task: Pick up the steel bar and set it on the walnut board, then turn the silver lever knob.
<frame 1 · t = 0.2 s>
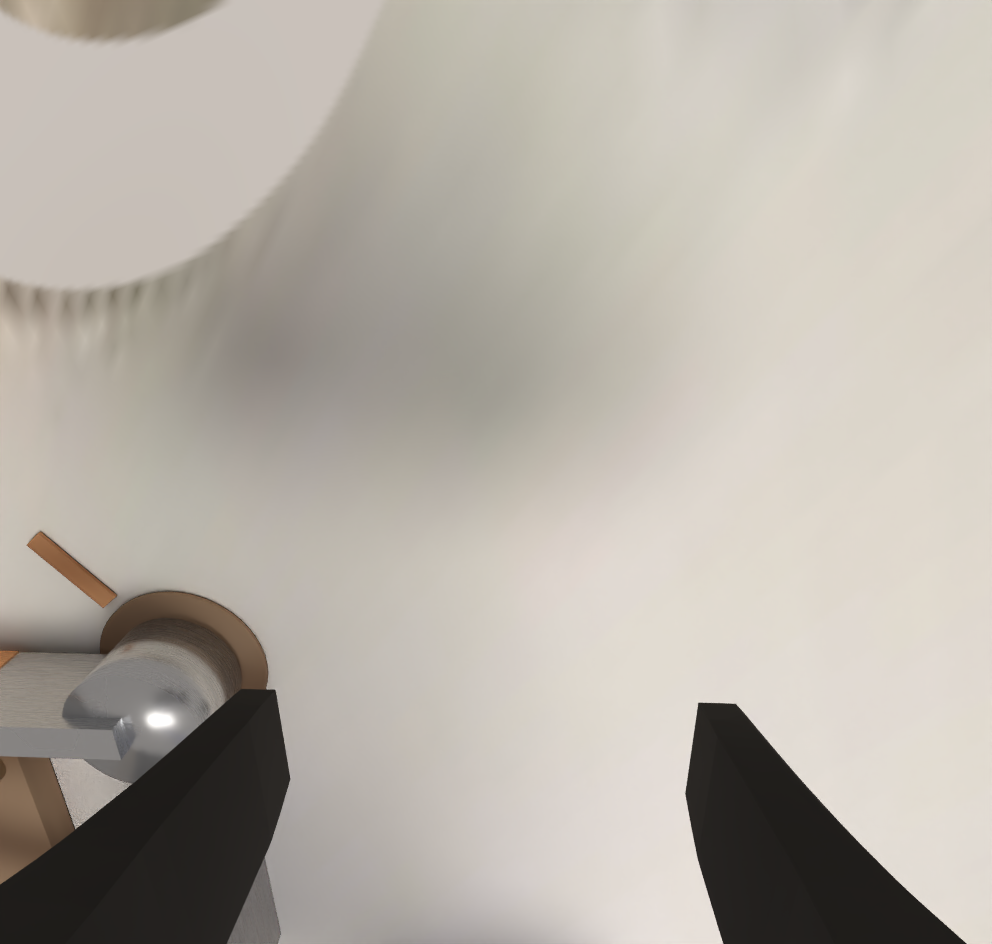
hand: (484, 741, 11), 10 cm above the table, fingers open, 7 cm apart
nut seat: (186, 662, 23), on the table
silver lever knob: (79, 703, 21), point 2 cm above the table, hinge at 0.0°
steel bar: (222, 850, 27), on the table
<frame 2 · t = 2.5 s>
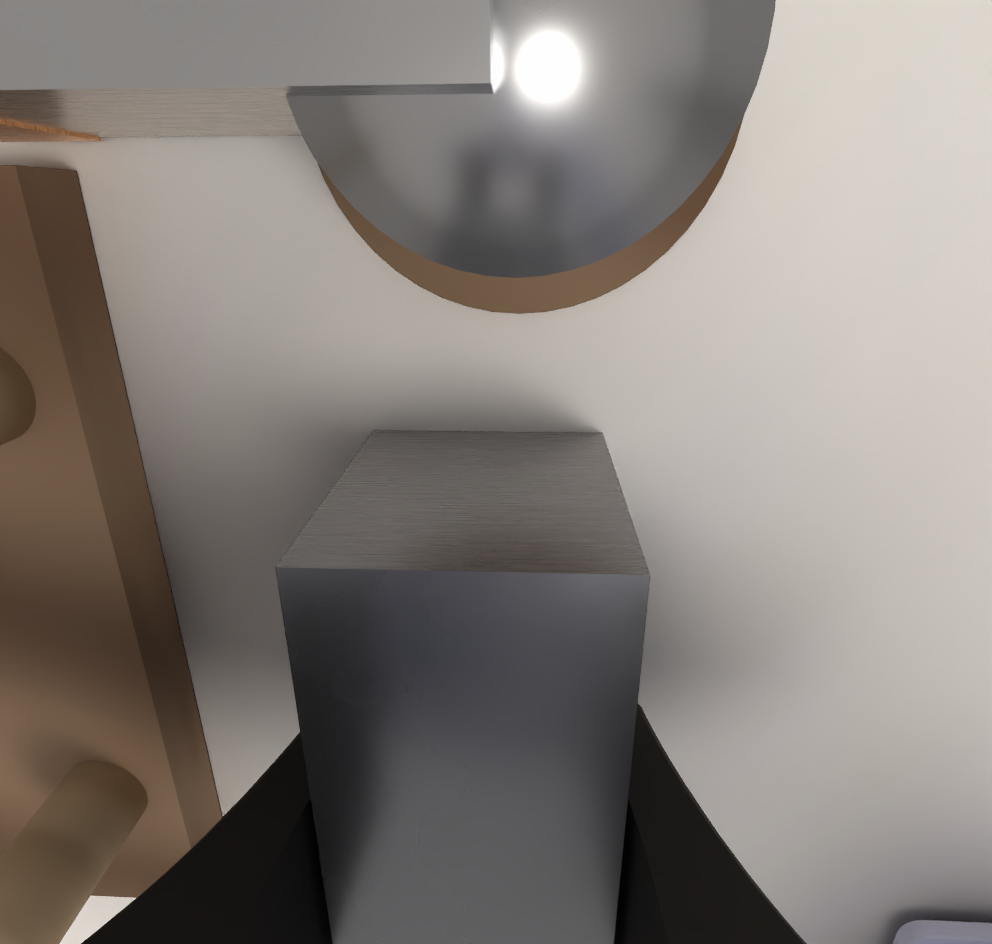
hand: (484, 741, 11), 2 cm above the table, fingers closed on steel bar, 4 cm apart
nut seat: (521, 86, 9), on the table
silver lever knob: (282, 51, 7), point 2 cm above the table, hinge at 0.0°
steel bar: (489, 674, 13), on the table, touching gripper
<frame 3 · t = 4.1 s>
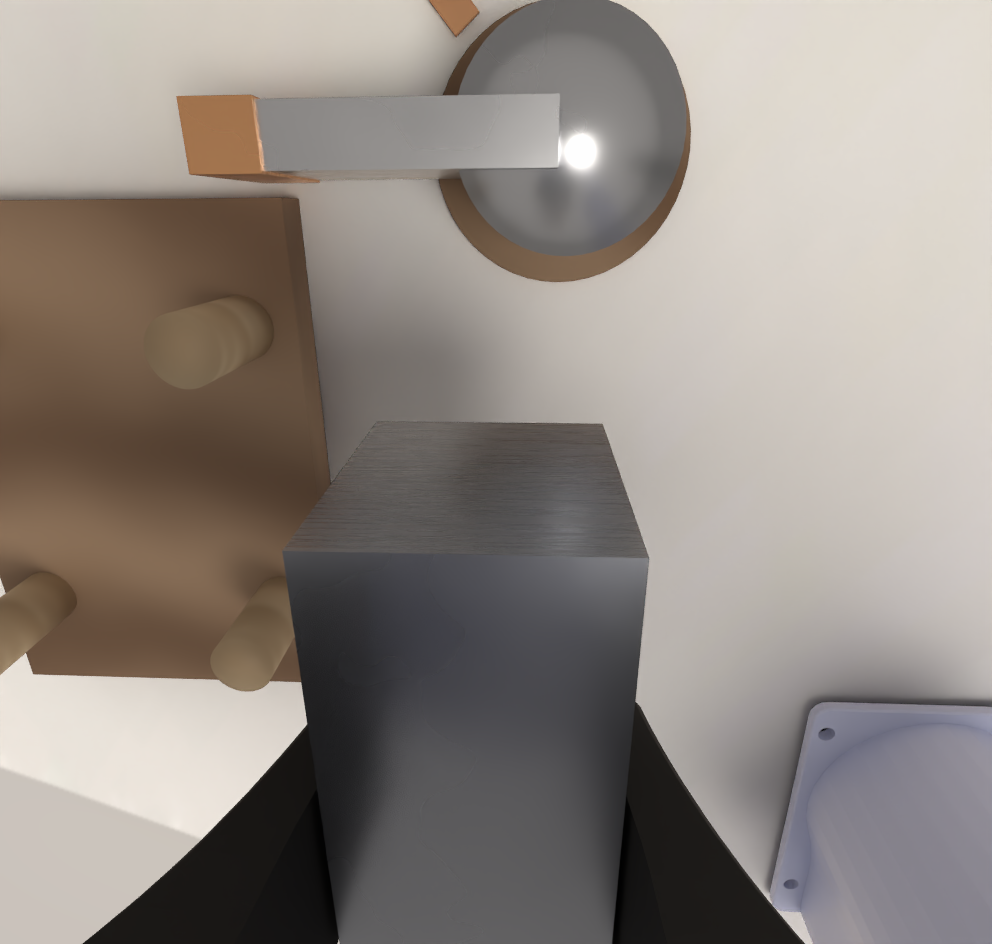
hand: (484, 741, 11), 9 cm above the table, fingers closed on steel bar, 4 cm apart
walnut board: (160, 458, 19), on the table
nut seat: (560, 150, 15), on the table
silver lever knob: (445, 142, 13), point 2 cm above the table, hinge at 0.0°
steel bar: (491, 664, 13), point 7 cm above the table, touching gripper
when the fingers open (4 cm above the table, at t = 5.9 s): steel bar stays where it is, resting on walnut board.
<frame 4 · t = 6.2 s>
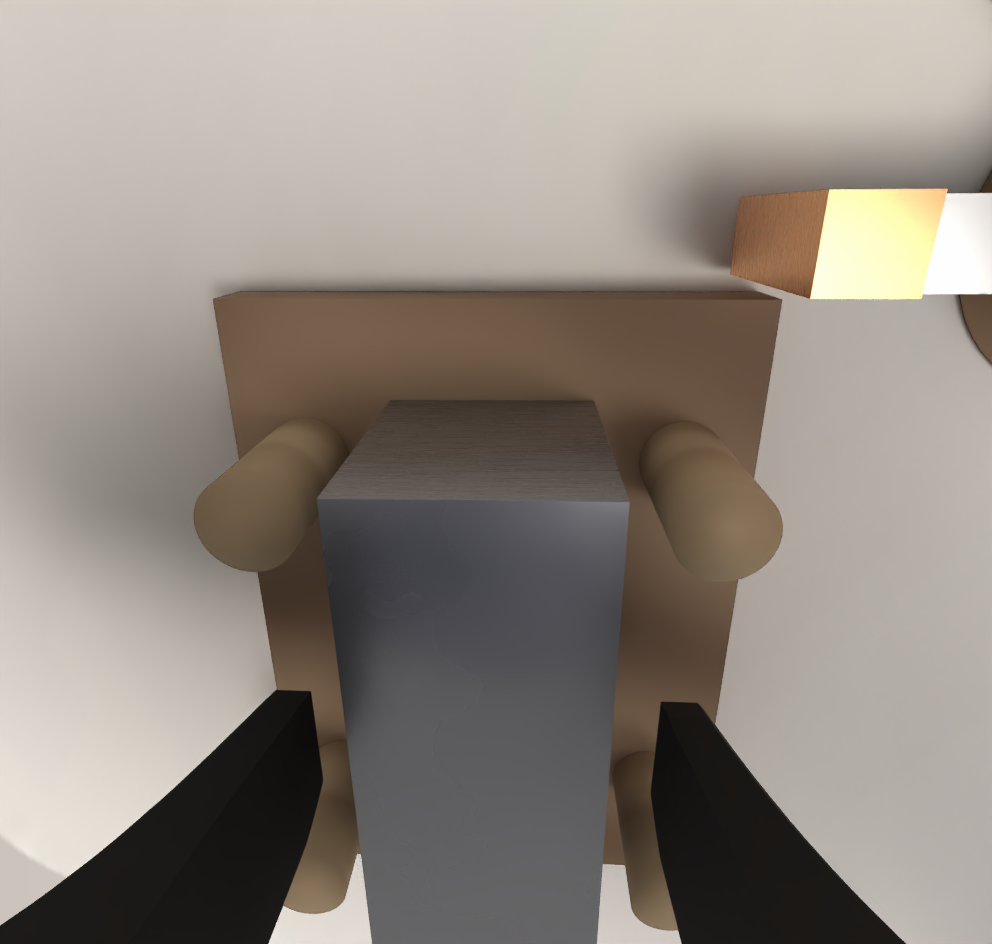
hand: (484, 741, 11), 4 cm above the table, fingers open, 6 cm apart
walnut board: (496, 601, 15), on the table
steel bar: (494, 625, 14), point 1 cm above the table, touching walnut board
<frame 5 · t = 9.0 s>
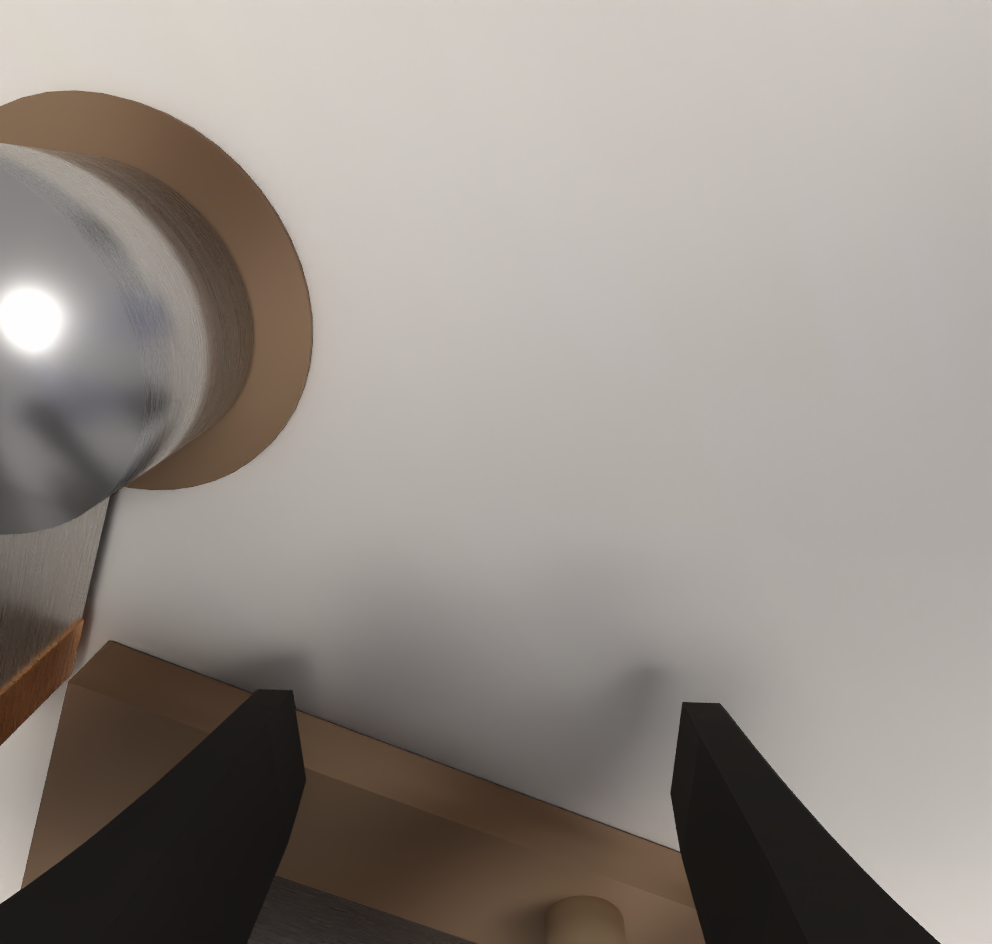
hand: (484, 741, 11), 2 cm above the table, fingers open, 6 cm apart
walnut board: (359, 906, 15), on the table
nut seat: (124, 310, 10), on the table
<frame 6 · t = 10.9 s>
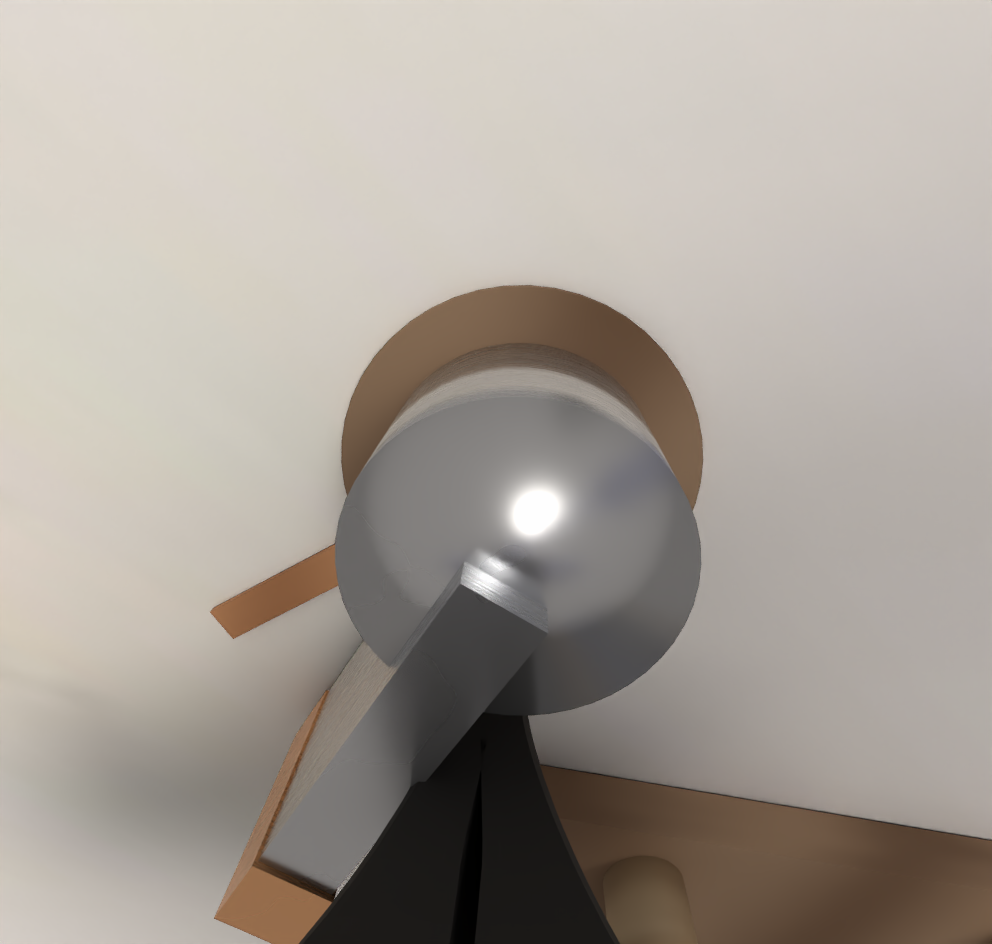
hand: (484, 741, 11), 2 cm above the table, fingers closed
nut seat: (519, 468, 11), on the table
silver lever knob: (426, 649, 10), point 2 cm above the table, hinge at 22.9°, touching gripper
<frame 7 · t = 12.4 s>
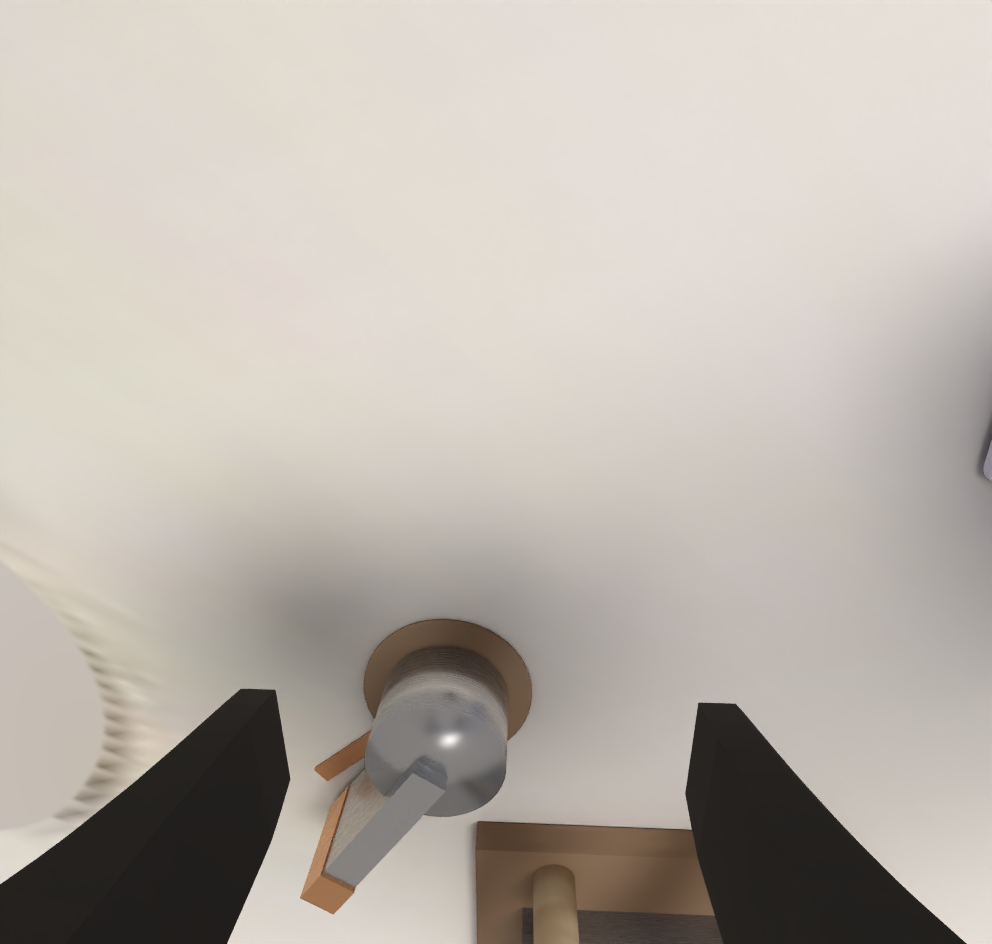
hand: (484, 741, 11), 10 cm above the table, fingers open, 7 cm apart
walnut board: (645, 914, 27), on the table
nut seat: (447, 689, 23), on the table
silver lever knob: (399, 780, 22), point 2 cm above the table, hinge at 35.3°
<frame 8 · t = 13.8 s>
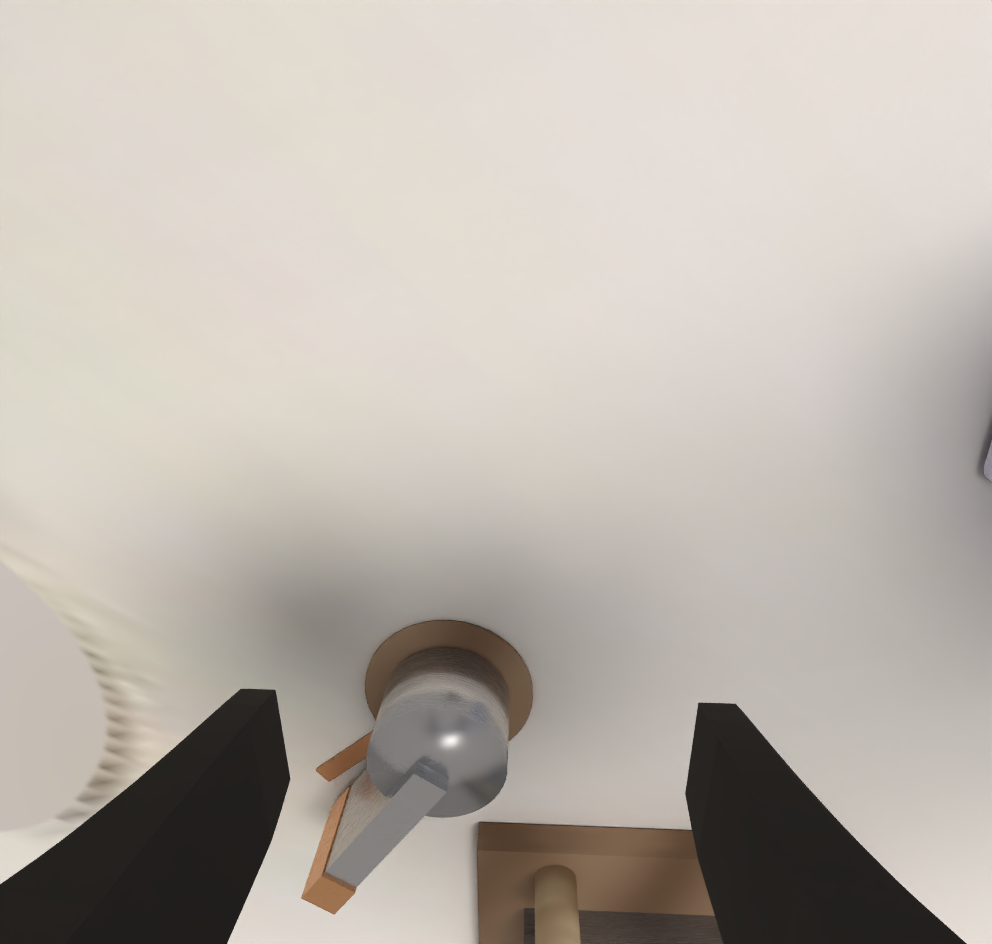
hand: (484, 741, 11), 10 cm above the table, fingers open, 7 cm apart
walnut board: (647, 914, 27), on the table
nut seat: (449, 690, 23), on the table
silver lever knob: (400, 781, 22), point 2 cm above the table, hinge at 35.6°
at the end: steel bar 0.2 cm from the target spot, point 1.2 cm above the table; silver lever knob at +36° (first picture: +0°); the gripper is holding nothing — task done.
